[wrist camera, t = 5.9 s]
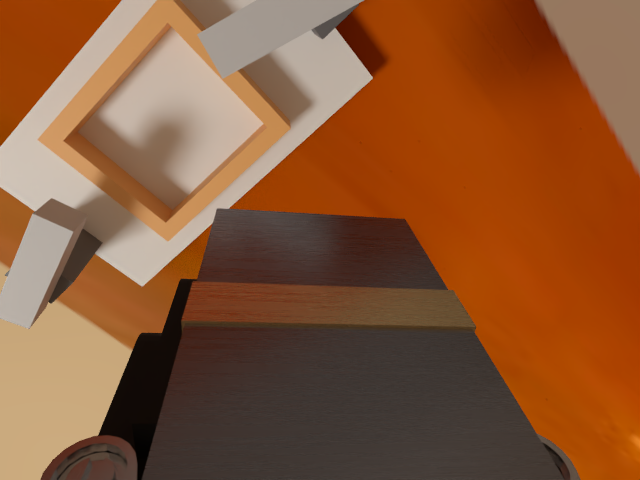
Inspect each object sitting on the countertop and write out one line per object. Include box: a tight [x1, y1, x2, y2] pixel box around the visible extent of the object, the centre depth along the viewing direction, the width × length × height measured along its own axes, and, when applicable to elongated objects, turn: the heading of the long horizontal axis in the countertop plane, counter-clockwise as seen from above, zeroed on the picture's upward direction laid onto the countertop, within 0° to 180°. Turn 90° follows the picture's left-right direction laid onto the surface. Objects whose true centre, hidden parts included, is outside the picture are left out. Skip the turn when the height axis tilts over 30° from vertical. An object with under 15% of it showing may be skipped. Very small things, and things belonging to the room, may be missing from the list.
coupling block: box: [142, 208, 565, 480], centre depth 8 cm, size 5×6×7 cm
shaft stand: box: [0, 0, 373, 329], centre depth 19 cm, size 21×10×7 cm, turn 131°
